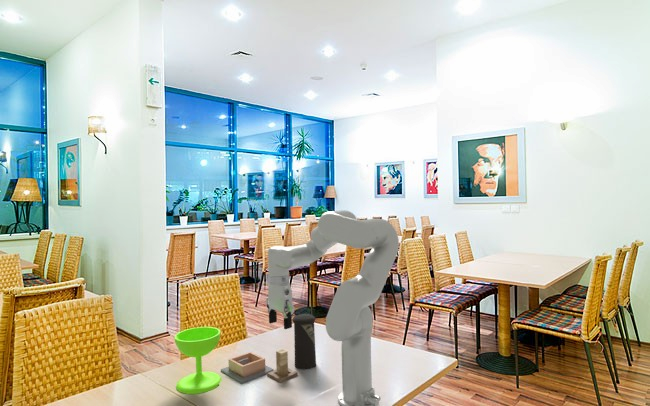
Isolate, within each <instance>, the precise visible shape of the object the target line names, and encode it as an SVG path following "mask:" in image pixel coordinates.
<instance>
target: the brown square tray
mask: <svg viewBox="0 0 650 406" xmlns="http://www.w3.org/2000/svg"><path fill="white" fill-rule="evenodd" d="M266 375H267V377H269V378H270V379H272V380H275V381H277V382H278V383H283V382H285V381H287V380H289V379H293V378H295V377H297V376H298V372H297V371H295V370H293V369H291V368H289V367H288V374H287V375H284V376H282V377H280V376H278V375H277V368H276V369H274V371H271V372H269V373H267V374H266Z"/></svg>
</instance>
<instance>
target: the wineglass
mask: <svg viewBox="0 0 650 406" xmlns="http://www.w3.org/2000/svg"><path fill="white" fill-rule="evenodd" d="M221 332H222V331H221V329H220V328H218V327H215V326H197V327H191V328H188V329H184V330H182V331H180V332H177V333H176V334H175V335H174V343H175V345H176V347H177V349H178V351H179V352H181V353H182V354H183V355H185V356H187V357H189V358H195V368H196V369H195V370H196V372H194V373H191V374H188V375H186V376H184V377H182V378H181V379H180V380H179V381H178V382H177V383H176V386H175V389H176V391H177V392H178V393H181V392H182V393H181V394H185V393H186V394H187V395H196V394H202V393H206V392H209V391H212V390H214V389H216V388H218V387H219V386H220V384H221V382H222V376H221V375H219V374H218V373H216V372H212V371H202V370H203V368H202V366H203V365H202V364H203V363H202V357H204V356H207V355H208V354H210V353H211V352H212V351H213V350H215V348H216V347H217V345H218V344H219V342H220V339H221Z"/></svg>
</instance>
